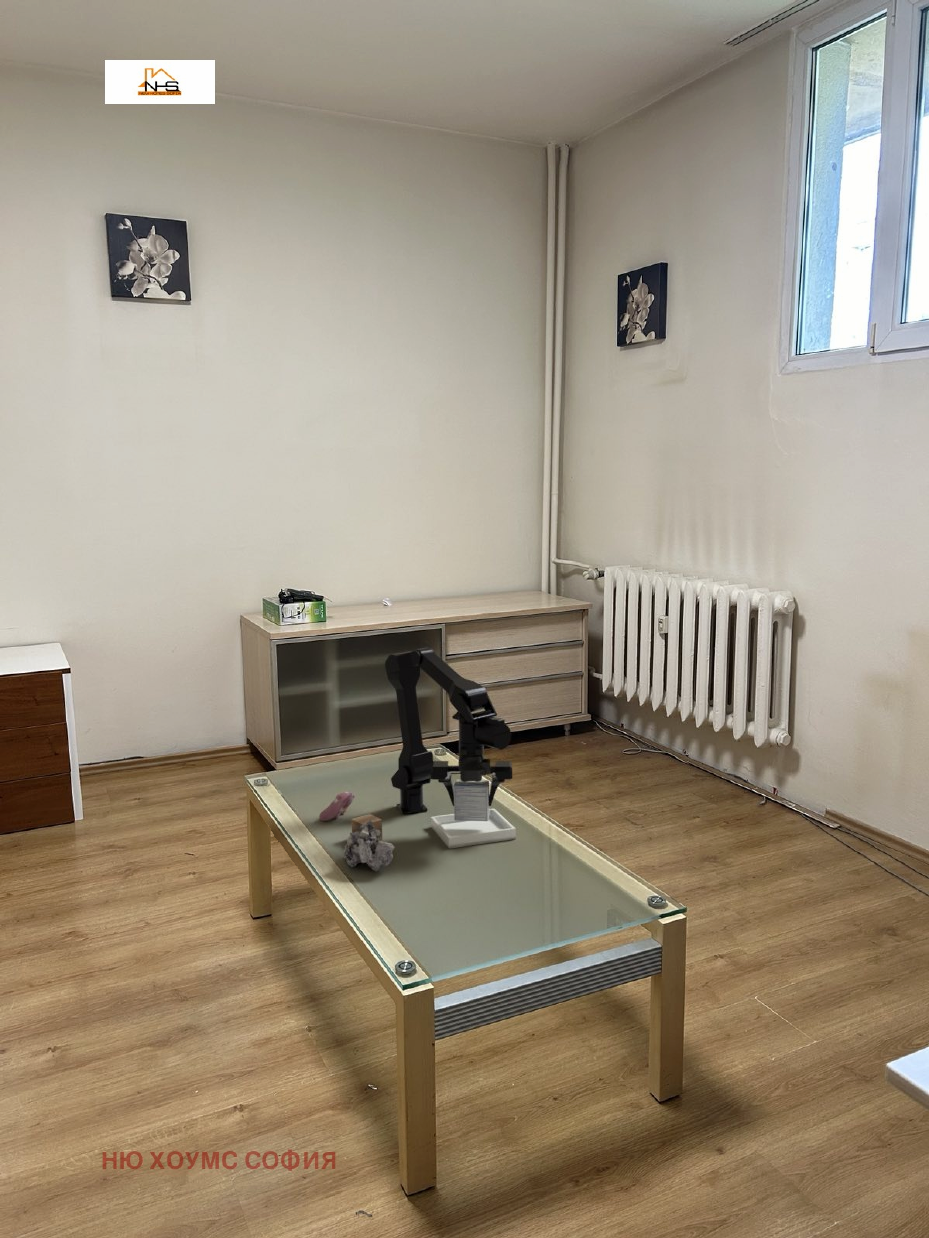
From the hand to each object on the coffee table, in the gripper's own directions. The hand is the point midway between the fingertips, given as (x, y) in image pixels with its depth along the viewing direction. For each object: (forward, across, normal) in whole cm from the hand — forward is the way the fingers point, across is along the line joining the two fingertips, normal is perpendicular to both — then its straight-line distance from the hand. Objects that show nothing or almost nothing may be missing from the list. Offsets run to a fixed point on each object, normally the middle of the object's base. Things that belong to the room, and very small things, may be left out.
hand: (471, 805), depth 214 cm
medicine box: (+3, 0, 0) cm, 3 cm away
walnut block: (+7, -24, -4) cm, 25 cm away
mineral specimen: (+7, -22, -18) cm, 30 cm away
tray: (+6, 0, 0) cm, 7 cm away
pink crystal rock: (+7, -33, +12) cm, 36 cm away
